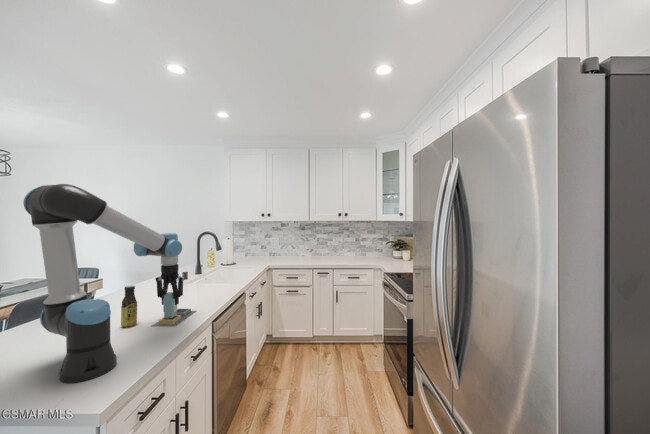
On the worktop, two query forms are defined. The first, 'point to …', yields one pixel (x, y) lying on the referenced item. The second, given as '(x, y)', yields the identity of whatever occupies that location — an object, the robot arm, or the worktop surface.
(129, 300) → the sauce bottle
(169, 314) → the plug
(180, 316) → the socket board
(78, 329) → the robot arm
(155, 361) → the worktop surface
